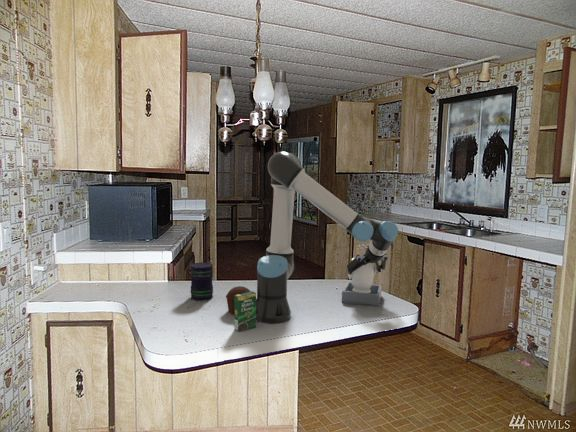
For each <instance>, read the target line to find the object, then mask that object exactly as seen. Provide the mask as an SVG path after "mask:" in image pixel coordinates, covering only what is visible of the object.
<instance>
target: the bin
mask: <svg viewBox="0 0 576 432" xmlns="http://www.w3.org/2000/svg"><path fill="white" fill-rule="evenodd" d="M353 288H354V287H353V285H352V281H351V282H349V281H347V282H346V283H345V286H344V287H343V289H342V291H341V303H343V304H344V303H346V304H353V305H354V304H355V305H361V306H371V307H379V306H380V302H381V298H382V285H380V284H372V286H371V288H370V290H371V292H370V293H360V292H353Z"/></svg>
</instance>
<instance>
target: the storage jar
mask: <svg viewBox="0 0 576 432" xmlns="http://www.w3.org/2000/svg"><path fill="white" fill-rule="evenodd" d="M213 266H214V265H213V263H211V262H203V261H202V262H194V263H191V264H190V279H191V283H190V284H191V286H190V299H191V300H192V301H196V302H205V301H209V300H212V299H213V298H214V296H213V294H214V285H213V277H214V267H213Z"/></svg>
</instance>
